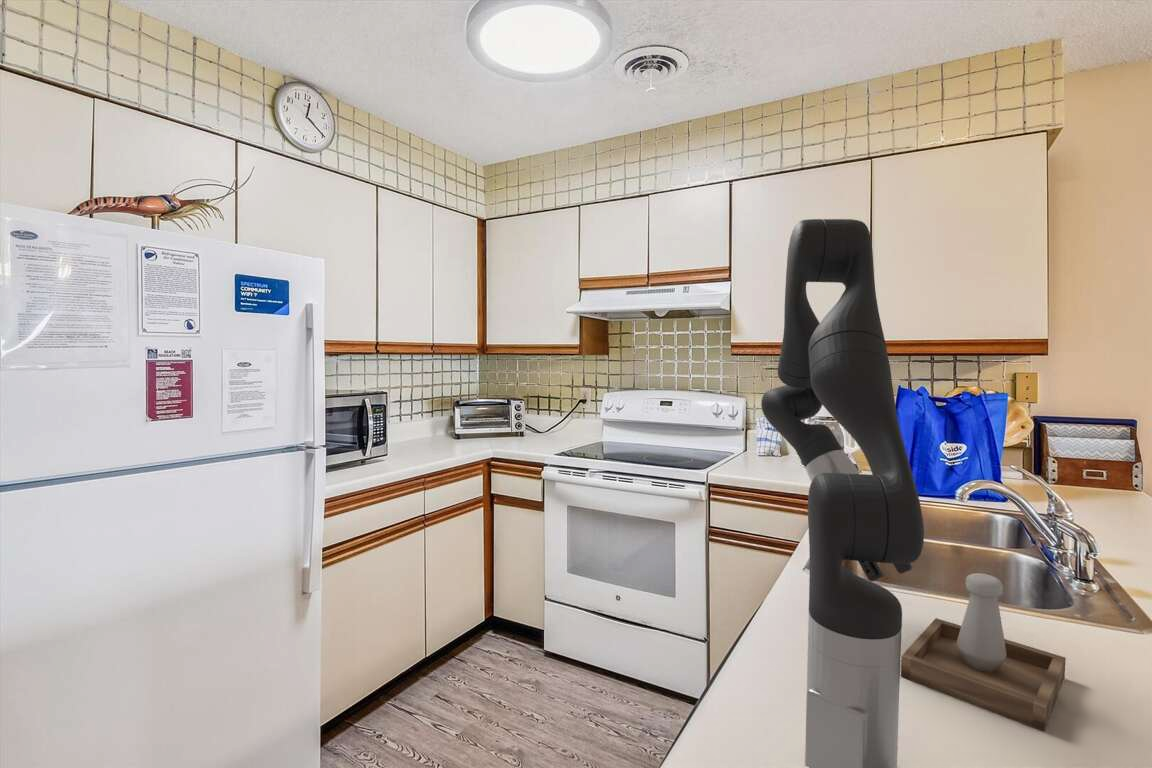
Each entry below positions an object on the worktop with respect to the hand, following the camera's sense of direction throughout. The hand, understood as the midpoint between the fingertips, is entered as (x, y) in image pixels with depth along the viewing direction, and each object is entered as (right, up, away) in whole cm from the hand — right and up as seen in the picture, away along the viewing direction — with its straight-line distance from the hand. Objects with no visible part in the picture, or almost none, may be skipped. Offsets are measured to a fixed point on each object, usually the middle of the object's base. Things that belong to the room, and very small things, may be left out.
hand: (892, 575), depth 90 cm
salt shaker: (+9, -11, -7) cm, 15 cm away
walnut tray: (+8, -11, -9) cm, 16 cm away
